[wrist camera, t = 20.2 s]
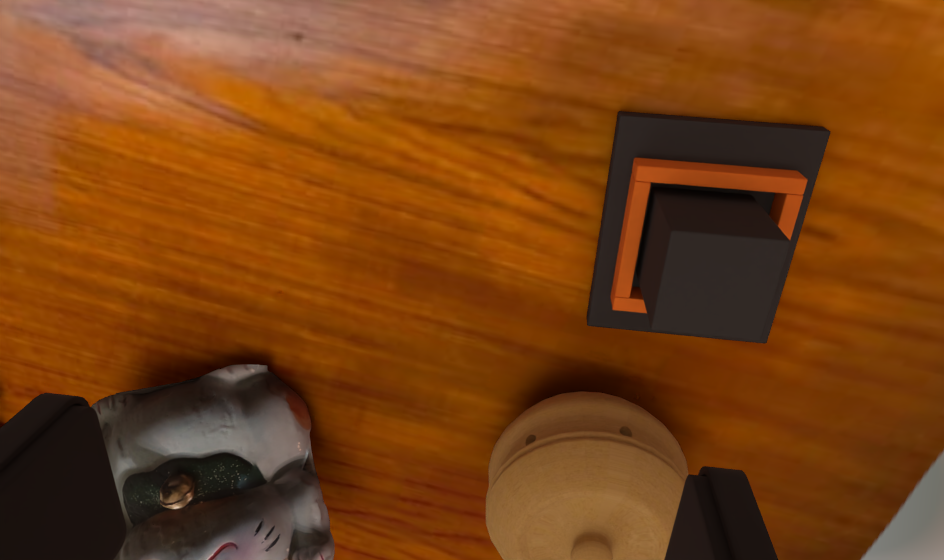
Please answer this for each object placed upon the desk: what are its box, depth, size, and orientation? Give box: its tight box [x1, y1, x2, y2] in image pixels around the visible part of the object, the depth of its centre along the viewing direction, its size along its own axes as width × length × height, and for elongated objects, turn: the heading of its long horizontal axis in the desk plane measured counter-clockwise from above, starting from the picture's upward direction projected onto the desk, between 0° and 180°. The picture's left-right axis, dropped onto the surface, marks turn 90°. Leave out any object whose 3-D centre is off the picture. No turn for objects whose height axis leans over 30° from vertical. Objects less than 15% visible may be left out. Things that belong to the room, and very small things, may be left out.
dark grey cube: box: [636, 187, 790, 340], centre depth 32 cm, size 5×5×6 cm
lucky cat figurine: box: [91, 364, 334, 560], centre depth 40 cm, size 15×12×14 cm
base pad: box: [587, 111, 830, 343], centre depth 34 cm, size 12×10×2 cm
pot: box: [486, 391, 688, 560], centre depth 38 cm, size 12×12×10 cm
